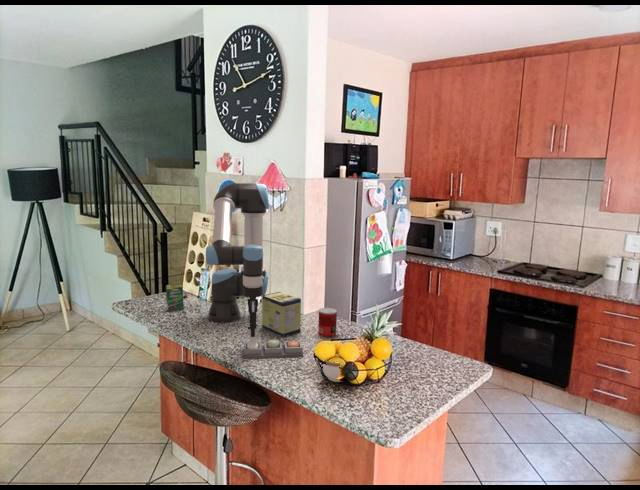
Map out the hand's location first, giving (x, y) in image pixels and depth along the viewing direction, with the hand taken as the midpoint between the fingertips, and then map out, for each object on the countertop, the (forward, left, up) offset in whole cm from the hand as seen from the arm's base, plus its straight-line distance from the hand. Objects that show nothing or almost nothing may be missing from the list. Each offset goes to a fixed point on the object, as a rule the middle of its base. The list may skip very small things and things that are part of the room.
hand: (252, 343), depth 178 cm
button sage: (0, +8, -2) cm, 8 cm away
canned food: (-18, +33, -4) cm, 38 cm away
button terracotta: (0, +16, -3) cm, 16 cm away
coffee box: (-57, -38, -4) cm, 68 cm away
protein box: (-25, +13, -4) cm, 28 cm away
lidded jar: (+24, +29, -4) cm, 38 cm away
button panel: (0, +8, -4) cm, 9 cm away
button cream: (0, 0, -3) cm, 3 cm away
